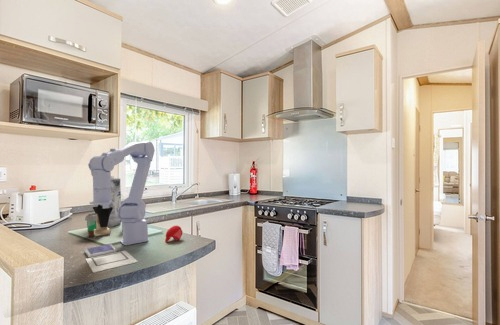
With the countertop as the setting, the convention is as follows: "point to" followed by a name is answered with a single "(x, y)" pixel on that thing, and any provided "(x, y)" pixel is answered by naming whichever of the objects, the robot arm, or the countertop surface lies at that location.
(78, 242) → the countertop surface
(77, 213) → the countertop surface
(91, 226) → the food container
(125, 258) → the paper
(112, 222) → the juice carton
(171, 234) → the red rounded piece
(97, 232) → the stamp
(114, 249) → the ink pad
